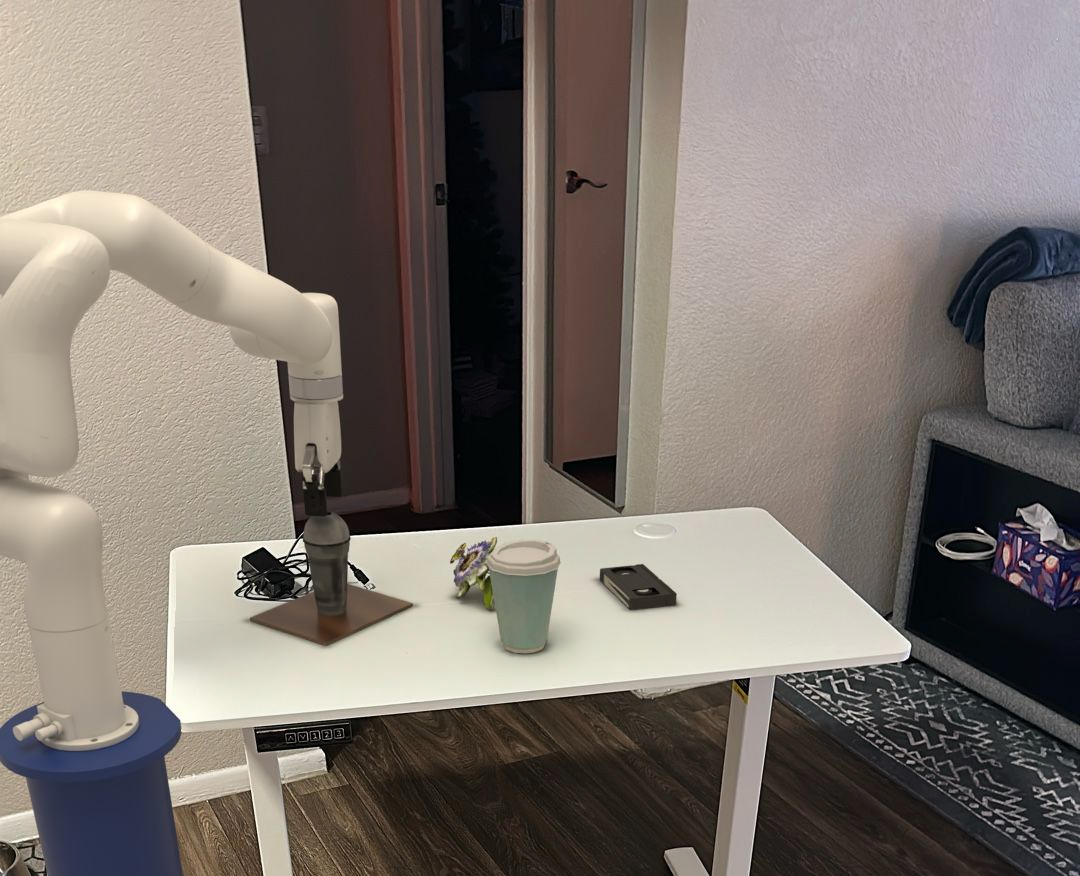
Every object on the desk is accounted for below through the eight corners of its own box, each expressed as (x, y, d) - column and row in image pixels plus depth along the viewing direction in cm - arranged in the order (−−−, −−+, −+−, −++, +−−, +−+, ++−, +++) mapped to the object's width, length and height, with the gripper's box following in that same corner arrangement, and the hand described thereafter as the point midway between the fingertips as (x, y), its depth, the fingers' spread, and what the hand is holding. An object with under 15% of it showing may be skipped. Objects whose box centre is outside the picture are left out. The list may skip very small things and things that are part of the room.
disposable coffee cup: (512, 665, 185) (513, 565, 177) (473, 640, 192) (472, 543, 184) (572, 649, 190) (575, 552, 182) (531, 626, 197) (533, 531, 190)
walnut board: (326, 646, 190) (325, 642, 189) (249, 620, 197) (249, 617, 197) (413, 606, 204) (412, 603, 203) (338, 583, 211) (338, 581, 211)
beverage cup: (311, 620, 196) (301, 492, 186) (305, 603, 202) (294, 478, 192) (358, 616, 198) (350, 488, 188) (351, 599, 204) (343, 474, 194)
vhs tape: (598, 579, 215) (599, 568, 214) (642, 575, 217) (642, 563, 216) (630, 610, 204) (630, 598, 203) (675, 605, 206) (676, 593, 205)
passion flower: (462, 628, 210) (439, 559, 210) (524, 610, 212) (501, 541, 212) (470, 613, 199) (446, 540, 199) (535, 594, 201) (511, 521, 201)
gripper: (305, 373, 190) (313, 487, 199) (274, 400, 175) (284, 522, 184) (355, 375, 190) (361, 490, 198) (327, 402, 175) (335, 524, 184)
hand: (324, 505), depth 191 cm, fingers open, 9 cm apart
